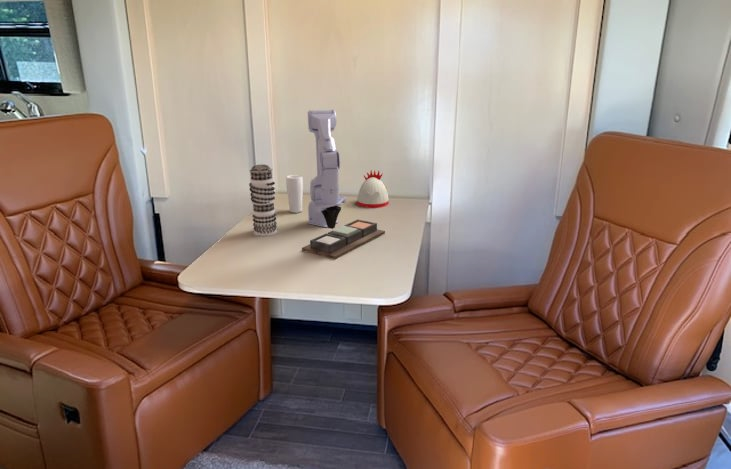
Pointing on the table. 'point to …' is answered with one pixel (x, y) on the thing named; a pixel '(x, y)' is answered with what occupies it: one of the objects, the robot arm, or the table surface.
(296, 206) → the drinking glass
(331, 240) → the off-white key
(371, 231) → the key board
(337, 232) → the sage key
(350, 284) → the table surface
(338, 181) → the robot arm
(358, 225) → the terracotta key
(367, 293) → the table surface
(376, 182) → the knitted chicken hat
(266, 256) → the table surface
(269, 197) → the white and black cylinder
